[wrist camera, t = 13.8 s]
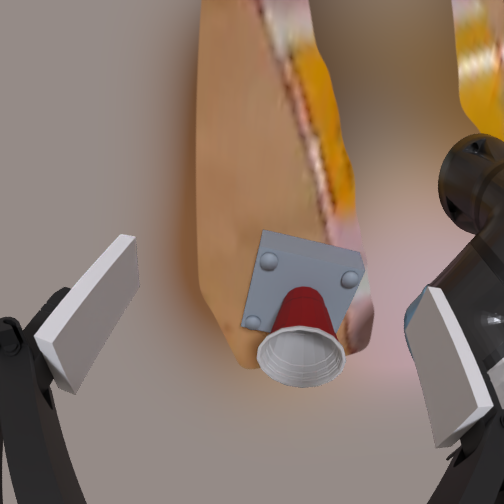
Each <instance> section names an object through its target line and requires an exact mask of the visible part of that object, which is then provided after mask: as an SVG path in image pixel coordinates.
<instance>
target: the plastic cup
mask: <svg viewBox="0 0 504 504" xmlns="http://www.w3.org/2000/svg"><path fill="white" fill-rule="evenodd" d="M257 360H258V363H259V365H260V367H261V369H262V370H263V371H264V372H265V373H266V374H267V375H268V376H269V377H270V378H272V379H273V380H275V381H278V382H280V383H282V384H284V385H287V386H294V387H300V388H305V387H316V386H320V385H322V384H325V383H328V382H330V381H332V380H333V379H335V378H336V377H337V376H338V375H339V374H340V373H341V372H342V370H343V368H344V365H345V363H346V358H345V352H344V348H343V346H342V345H341V344H340V343H339V341H338V339H337V336H336V333H335V332H334V329H333V325H332V322H331V319H330V316H329V313H328V310H327V308H326V306H325V303H324V300H323V297H322V296H321V295H320V293H319V292H318V291H317V290H315V289H313V288H311V287H305V286H301V287H297V288H294V289H292V290H291V291H289V292H288V293H287V295H286V296H285V298H284V299H283V302H282V305H281V308H280V310H279V312H278V314H277V317H276V320H275V322H274V325H273V327H272V330H271V332H270V334H269V335H268V336H267V337H266V338H265V339H264V340H263V342H262V343H261V344H260V345H259V347H258V353H257Z"/></svg>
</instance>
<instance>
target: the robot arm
mask: <svg viewBox="0 0 504 504" xmlns="http://www.w3.org/2000/svg"><path fill="white" fill-rule="evenodd" d="M438 192H439V198H440V202H441V205H442V207H443V209H444V211H445V213H446V214H447V215H448V217H449V218H450V219H451V220H452V221H453V222H454V223H455V224H456V225H457V226H458V227H459V228H461V229H462V230H464V231H466V232H469V233H472V234H475V235H476V236H475V237H474V238H473V239H472V240H471V241H470V242H469V243H468V244H467V245H466V247H465V248H464V249H463V250H462V251H461V252H460V253H459V254H458V255H457V257H456V258H455V259H454V260H453V261H452V262H451V263H450V264H449V265H448V266H447V267H446V268H445V269H444V270H443V272H441V273H440V275H439V276H438V277H437V278H436V279H435V280H434V281H433V282H432V283H430V284H428V285H427V286H426V287H425V288H424V289H423V291H422V293H421V294H420V295H419V296H418V297H417V298H416V299H415V300H414V301H413V302H412V304H410V306H409V307H408V309H407V311H406V313H405V318H404V333H405V338H406V342H407V345H408V348H409V351H410V353H411V356H412V358H413V360H414V362H415V365H416V369H417V372H418V376H419V380H420V383H421V387H422V390H423V395H424V399H425V403H426V407H427V411H428V415H429V419H430V423H431V428H432V433H433V437H434V443H435V447H436V448H442V447H451V446H452V445H453V444H454V443H456V442H457V441H458V440H459V439H460V440H461V446H460V447H459V448H458V449H456V450H455V451H454V452H453V453H452V454H450V455H449V456H448V457H447V459H446V460H449V459H450V458H452V457H453V456H454V457H453V459H452V461H451V463H450V465H449V466H448V468H447V470H446V472H445V474H444V476H443V477H442V479H441V481H440V483H439V485H438V486H437V488H436V490H435V491H434V493H433V495H432V496H431V498H430V500H429V501H428V503H427V504H504V142H503V141H502V140H500V139H498V138H496V137H493V136H491V135H488V134H473V135H470V136H467V137H465V138H463V139H462V140H460V141H459V142H458V143H456V144H455V145H454V146H453V147H452V148H451V150H450V151H449V152H448V154H447V156H446V157H445V159H444V161H443V164H442V166H441V170H440V174H439V180H438ZM139 287H140V285H139V273H138V261H137V246H136V237H134V236H129V235H123V234H120V235H119V236H118V238H117V239H116V240H115V241H114V242H113V243H112V244H111V245H110V246H109V247H108V248H107V249H106V250H105V252H104V253H103V254H102V255H101V256H100V257H99V258H98V259H97V260H96V261H95V263H94V264H93V265H92V266H91V267H90V268H89V269H88V271H87V272H86V273H85V274H84V275H83V276H82V277H81V278H80V280H79V281H78V282H77V283H76V284H75V285H74V287H73V288H72V289H70V288H67V287H64V288H62V289H60V290H59V291H57V292H55V293H54V294H53V295H52V296H51V297H50V299H49V300H48V301H47V303H46V304H44V306H43V307H42V308H41V311H39V312H38V313H37V314H36V315H35V316H34V318H33V319H32V320H31V321H30V323H29V324H28V325H27V326H26V327H25V329H24V330H22V328H21V326H20V323H19V322H18V321H17V320H16V319H15V318H12V317H3V318H0V504H3V499H2V451H3V441H4V446H5V452H6V458H7V462H8V467H9V472H10V476H11V480H12V484H13V488H14V492H15V496H16V499H17V503H18V504H87V503H86V501H85V498H84V496H83V493H82V491H81V488H80V486H79V483H78V480H77V477H76V475H75V472H74V469H73V467H72V463H71V461H70V458H69V454H68V451H67V448H66V445H65V441H64V438H63V434H62V431H61V427H60V424H59V420H58V416H57V412H56V408H55V404H54V399H53V395H52V390H51V388H50V386H49V385H50V384H51V382H52V380H53V379H54V380H55V382H56V384H57V386H58V388H60V389H62V390H64V391H67V392H69V393H72V394H74V395H76V393H77V391H78V389H79V387H80V386H81V384H82V382H83V380H84V378H85V377H86V375H87V373H88V371H89V370H90V368H91V366H92V364H93V363H94V361H95V359H96V357H97V356H98V354H99V352H100V351H101V349H102V347H103V346H104V344H105V342H106V340H107V339H108V337H109V335H110V334H111V332H112V330H113V329H114V327H115V326H116V324H117V322H118V321H119V319H120V317H121V316H122V314H123V313H124V311H125V309H126V308H127V306H128V305H129V303H130V301H131V300H132V298H133V297H134V295H135V294H136V292H137V290H138V289H139Z"/></svg>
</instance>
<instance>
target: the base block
mask: <svg viewBox="0 0 504 504" xmlns="http://www.w3.org/2000/svg"><path fill="white" fill-rule="evenodd" d="M364 272H365V268H364V265H363V261H362V258H361V255H360V252H356V251H352V250H348V249H344V248H340V247H336V246H331V245H327V244H323V243H319V242H315V241H310V240H306V239H302V238H298V237H293V236H289V235H285V234H281V233H276V232H272V231H268V230H263V232H262V237H261V241H260V245H259V250H258V254H257V258H256V263H255V267H254V271H253V275H252V280H251V284H250V288H249V293H248V297H247V301H246V305H245V310H244V314H243V319H242V323H241V326H242V327H247V328H248V329H250V330H260V331H265V332H269V333H270V332H271V330H272V327H273V325H274V322H275V320H276V317H277V314H278V312H279V310H280V308H281V305H282V302H283V299H284V298H285V296H286V295H287V293H288V292H289V291H291V290H292V289H294V288H297V287H301V286H305V287H311V288H313V289H315V290H317V291H318V292H319V293H320V295H321V296H322V297H323V300H324V303H325V306H326V308H327V310H328V313H329V316H330V319H331V322H332V325H333V329H334V332H335V333H337V331H338V329H339V326H340V324H341V322H342V320H343V318H344V316H345V314H346V312H347V310H348V308H349V306H350V303H351V301H352V299H353V297H354V295H355V292H356V290H357V288H358V286H359V284H360V281H361V279H362V277H363V274H364Z"/></svg>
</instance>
